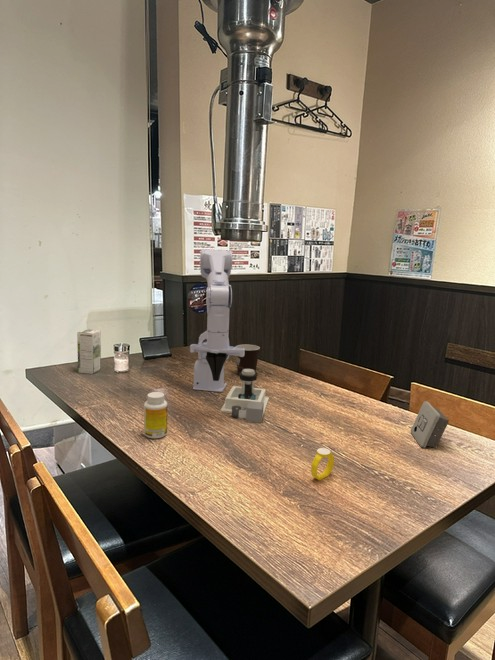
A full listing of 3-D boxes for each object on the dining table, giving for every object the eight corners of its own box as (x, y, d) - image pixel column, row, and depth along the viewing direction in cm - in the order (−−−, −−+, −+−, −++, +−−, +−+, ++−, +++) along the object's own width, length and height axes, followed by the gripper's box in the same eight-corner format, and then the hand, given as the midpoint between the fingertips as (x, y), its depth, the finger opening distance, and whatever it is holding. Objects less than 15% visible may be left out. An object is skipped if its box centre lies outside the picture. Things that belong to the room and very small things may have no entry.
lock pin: (230, 417, 118) (230, 408, 117) (232, 414, 120) (232, 405, 120) (261, 421, 116) (262, 412, 116) (262, 417, 119) (263, 408, 118)
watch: (318, 485, 87) (319, 459, 86) (307, 479, 89) (308, 453, 88) (336, 474, 91) (337, 448, 90) (325, 468, 93) (326, 443, 92)
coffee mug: (258, 378, 152) (259, 350, 150) (234, 377, 152) (235, 349, 150) (258, 368, 164) (259, 343, 162) (235, 367, 164) (236, 342, 162)
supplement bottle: (170, 437, 104) (170, 397, 102) (147, 441, 102) (146, 399, 100) (163, 428, 109) (164, 389, 107) (141, 431, 107) (141, 392, 105)
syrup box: (86, 368, 155) (84, 328, 152) (101, 369, 154) (100, 329, 151) (77, 373, 149) (76, 331, 146) (93, 374, 148) (92, 333, 145)
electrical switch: (409, 432, 114) (417, 399, 112) (429, 435, 114) (437, 402, 112) (421, 449, 105) (430, 413, 103) (442, 452, 104) (451, 416, 102)
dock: (216, 418, 117) (216, 404, 116) (230, 394, 135) (230, 383, 134) (260, 423, 115) (261, 409, 114) (268, 398, 133) (269, 386, 132)
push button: (255, 398, 131) (256, 366, 129) (263, 404, 127) (265, 371, 124) (235, 401, 128) (236, 368, 126) (242, 407, 124) (243, 373, 122)
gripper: (186, 331, 112) (186, 381, 115) (242, 336, 110) (239, 387, 113) (194, 326, 119) (193, 374, 122) (246, 330, 117) (244, 378, 119)
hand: (216, 379), depth 117 cm, fingers closed
